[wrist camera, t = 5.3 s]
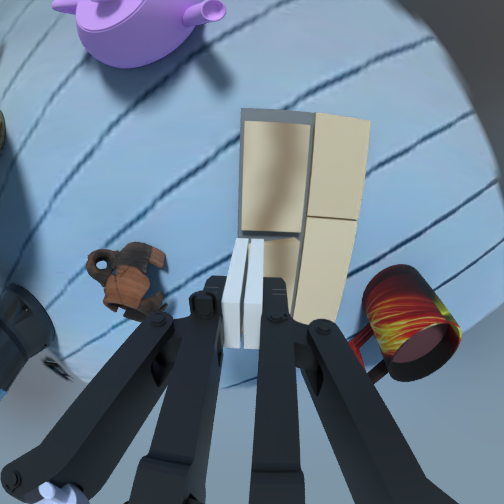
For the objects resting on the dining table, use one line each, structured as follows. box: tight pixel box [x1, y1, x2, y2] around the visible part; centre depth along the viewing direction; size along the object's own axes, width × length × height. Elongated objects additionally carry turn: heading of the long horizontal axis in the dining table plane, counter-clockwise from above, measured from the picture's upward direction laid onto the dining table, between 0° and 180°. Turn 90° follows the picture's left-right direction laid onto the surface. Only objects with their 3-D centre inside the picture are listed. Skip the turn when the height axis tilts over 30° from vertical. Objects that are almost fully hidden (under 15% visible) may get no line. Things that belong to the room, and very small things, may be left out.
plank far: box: [242, 237, 300, 334], centre depth 32 cm, size 6×11×1 cm, turn 177°
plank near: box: [241, 121, 310, 232], centre depth 27 cm, size 6×11×1 cm, turn 178°
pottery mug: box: [86, 242, 168, 322], centre depth 33 cm, size 12×10×8 cm
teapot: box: [52, 0, 226, 68], centre depth 16 cm, size 14×20×11 cm
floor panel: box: [238, 108, 371, 325], centre depth 31 cm, size 13×26×2 cm, turn 178°
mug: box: [349, 264, 462, 384], centre depth 31 cm, size 10×14×12 cm
